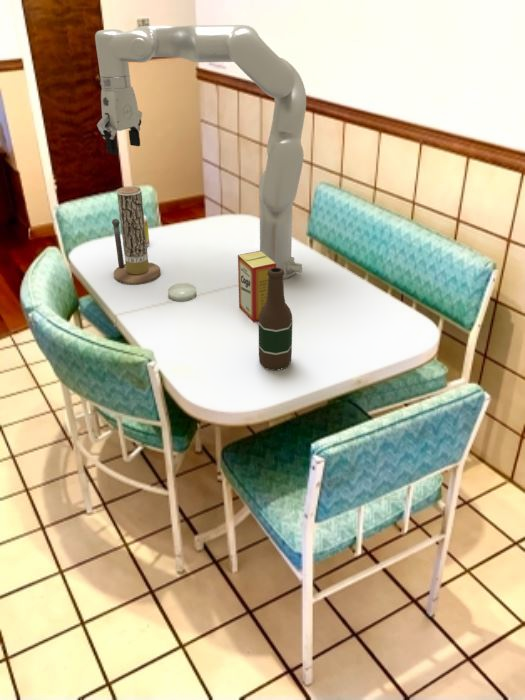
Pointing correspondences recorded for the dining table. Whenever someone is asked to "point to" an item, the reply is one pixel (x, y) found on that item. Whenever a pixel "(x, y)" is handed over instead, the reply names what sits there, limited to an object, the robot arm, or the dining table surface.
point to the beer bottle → (275, 325)
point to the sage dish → (182, 292)
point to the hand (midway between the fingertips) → (124, 149)
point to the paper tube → (133, 229)
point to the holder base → (121, 272)
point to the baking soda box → (253, 282)
